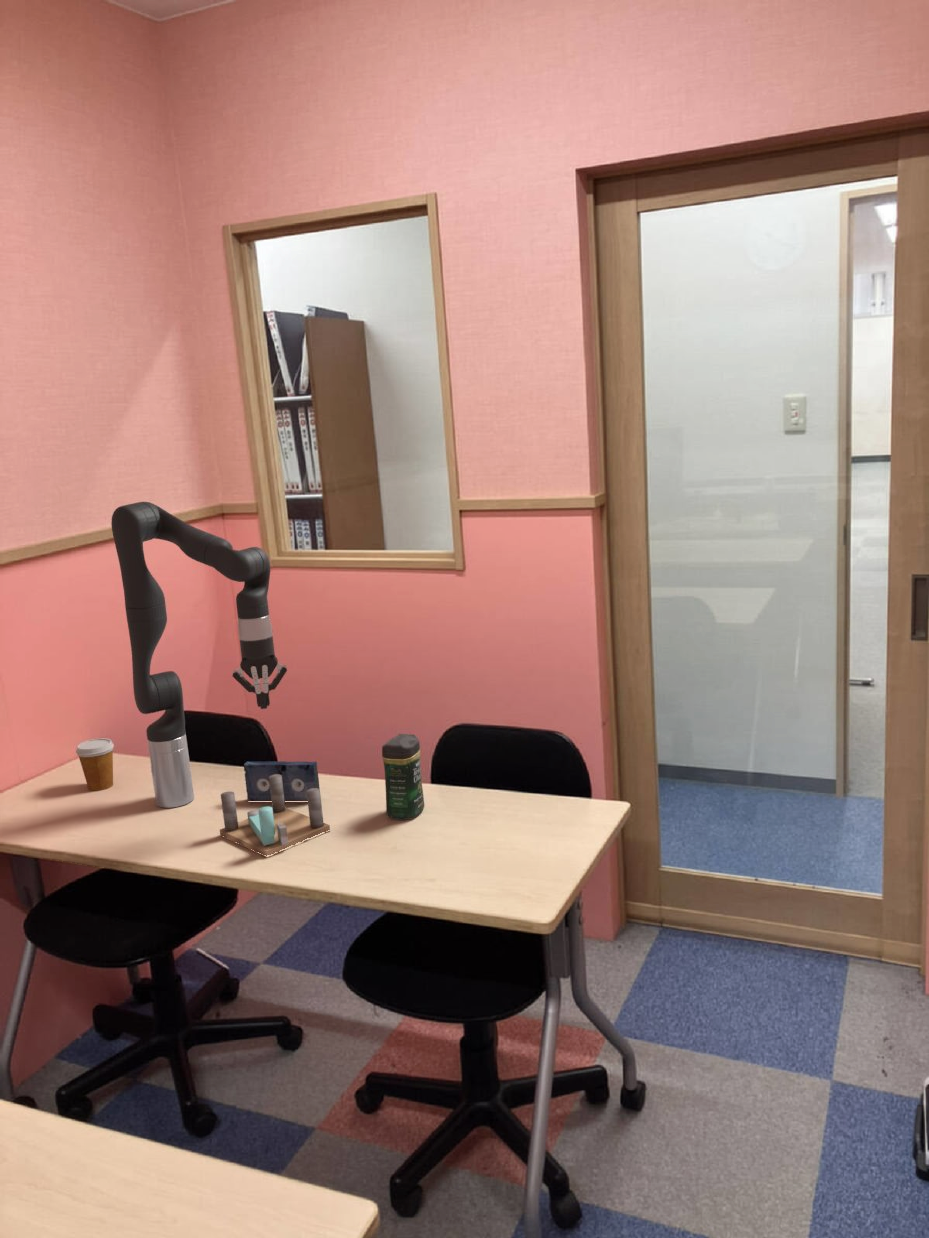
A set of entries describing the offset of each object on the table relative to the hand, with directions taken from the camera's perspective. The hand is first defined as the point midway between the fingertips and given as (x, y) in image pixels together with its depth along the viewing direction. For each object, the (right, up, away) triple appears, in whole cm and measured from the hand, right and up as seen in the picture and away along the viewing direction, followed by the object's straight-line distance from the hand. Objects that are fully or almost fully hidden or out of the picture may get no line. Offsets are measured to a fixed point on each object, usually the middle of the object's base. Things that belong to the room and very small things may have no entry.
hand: (264, 707), depth 233 cm
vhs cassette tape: (+2, -25, +15) cm, 29 cm away
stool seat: (+3, -28, -4) cm, 29 cm away
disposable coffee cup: (-50, -24, +34) cm, 65 cm away
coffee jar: (+33, -25, +2) cm, 41 cm away
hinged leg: (+1, -27, -8) cm, 29 cm away
